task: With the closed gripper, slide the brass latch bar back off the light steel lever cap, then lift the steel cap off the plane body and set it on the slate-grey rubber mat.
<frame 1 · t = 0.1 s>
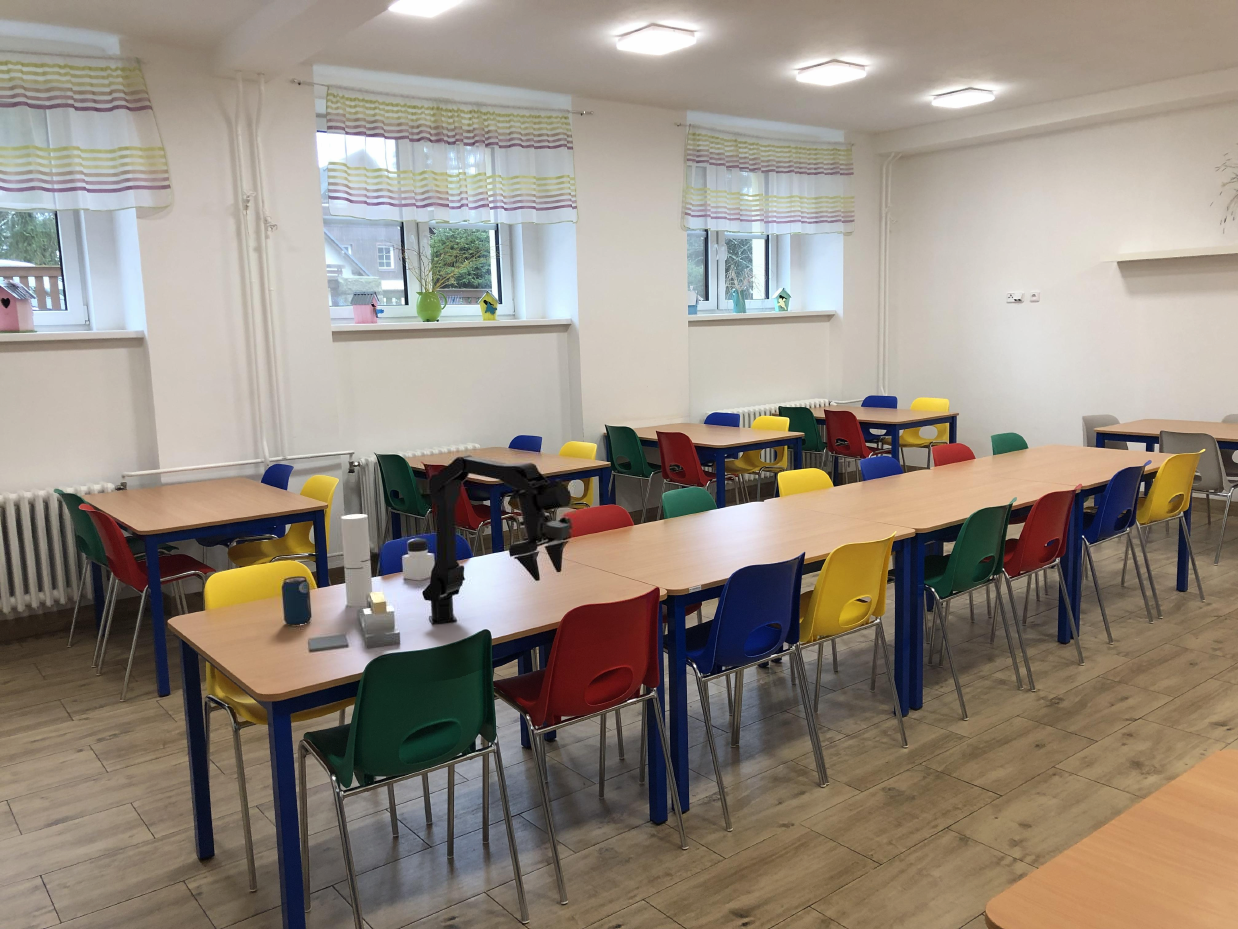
hand: (548, 576, 233), 15 cm above the table, tool pointing down, fingers open, 9 cm apart
soda can: (298, 623, 254), on the table
medicine bottle: (419, 577, 300), on the table
mat: (328, 643, 235), on the table
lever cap: (379, 625, 239), point 3 cm above the table, touching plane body
cylindrical container: (360, 603, 271), on the table
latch: (378, 602, 238), point 9 cm above the table, slide at 0.0 cm
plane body: (378, 631, 244), on the table
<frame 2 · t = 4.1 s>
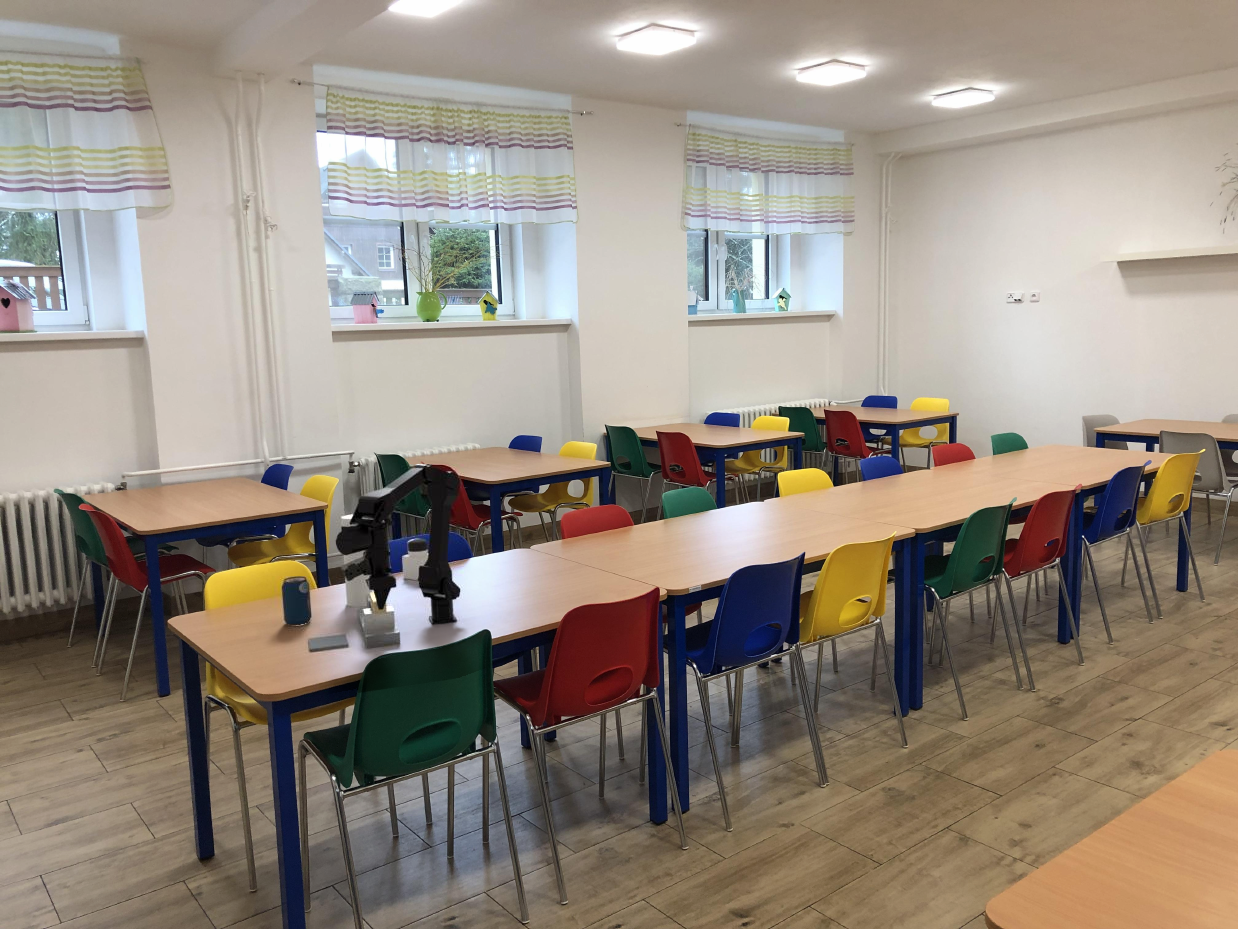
hand: (380, 609, 233), 9 cm above the table, tool pointing down, fingers closed
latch: (378, 602, 238), point 9 cm above the table, slide at 0.1 cm, touching gripper
everything else where it was.
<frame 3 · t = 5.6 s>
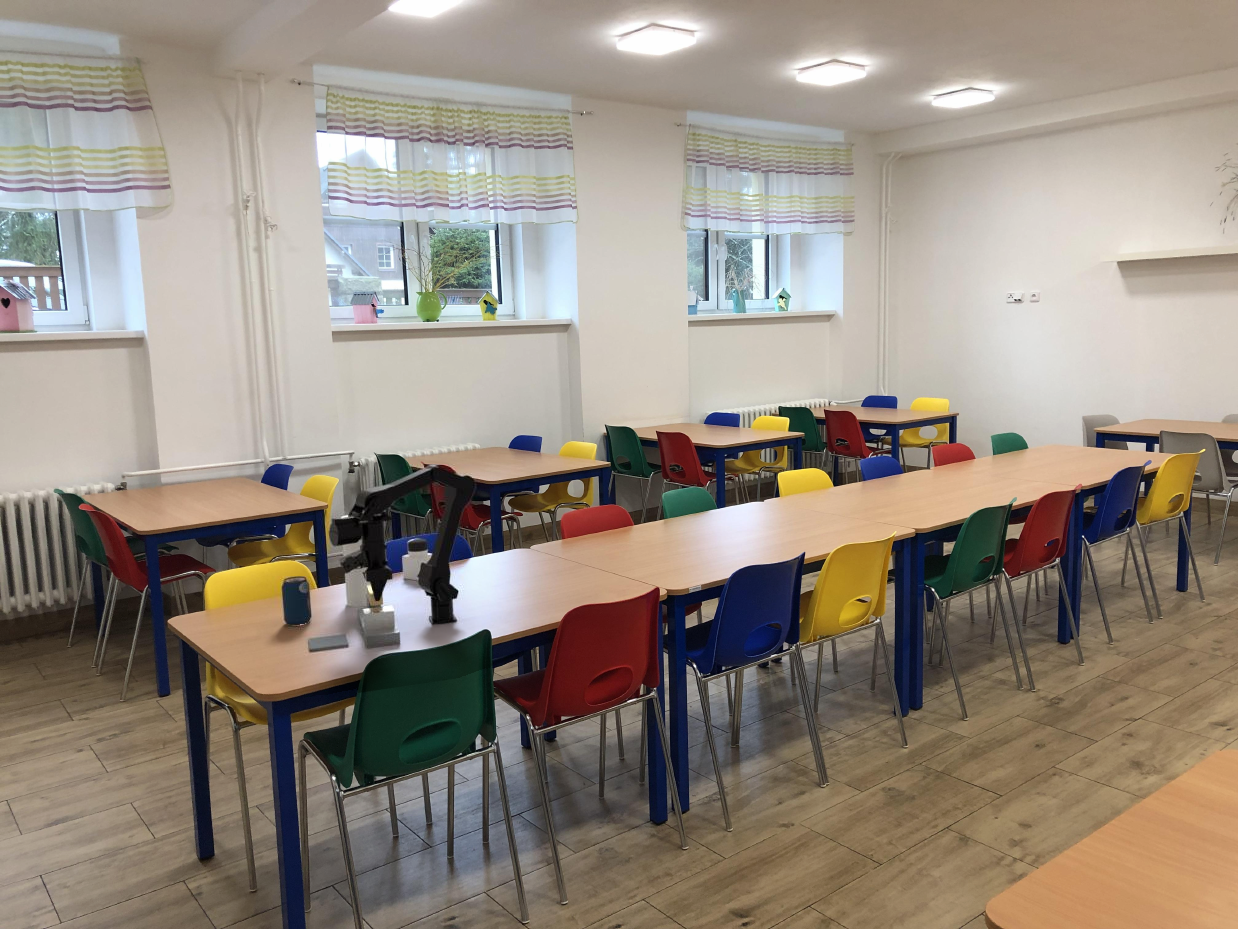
hand: (377, 600, 240), 9 cm above the table, tool pointing down, fingers closed
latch: (374, 594, 246), point 9 cm above the table, slide at 8.4 cm, touching gripper
everything else where it was.
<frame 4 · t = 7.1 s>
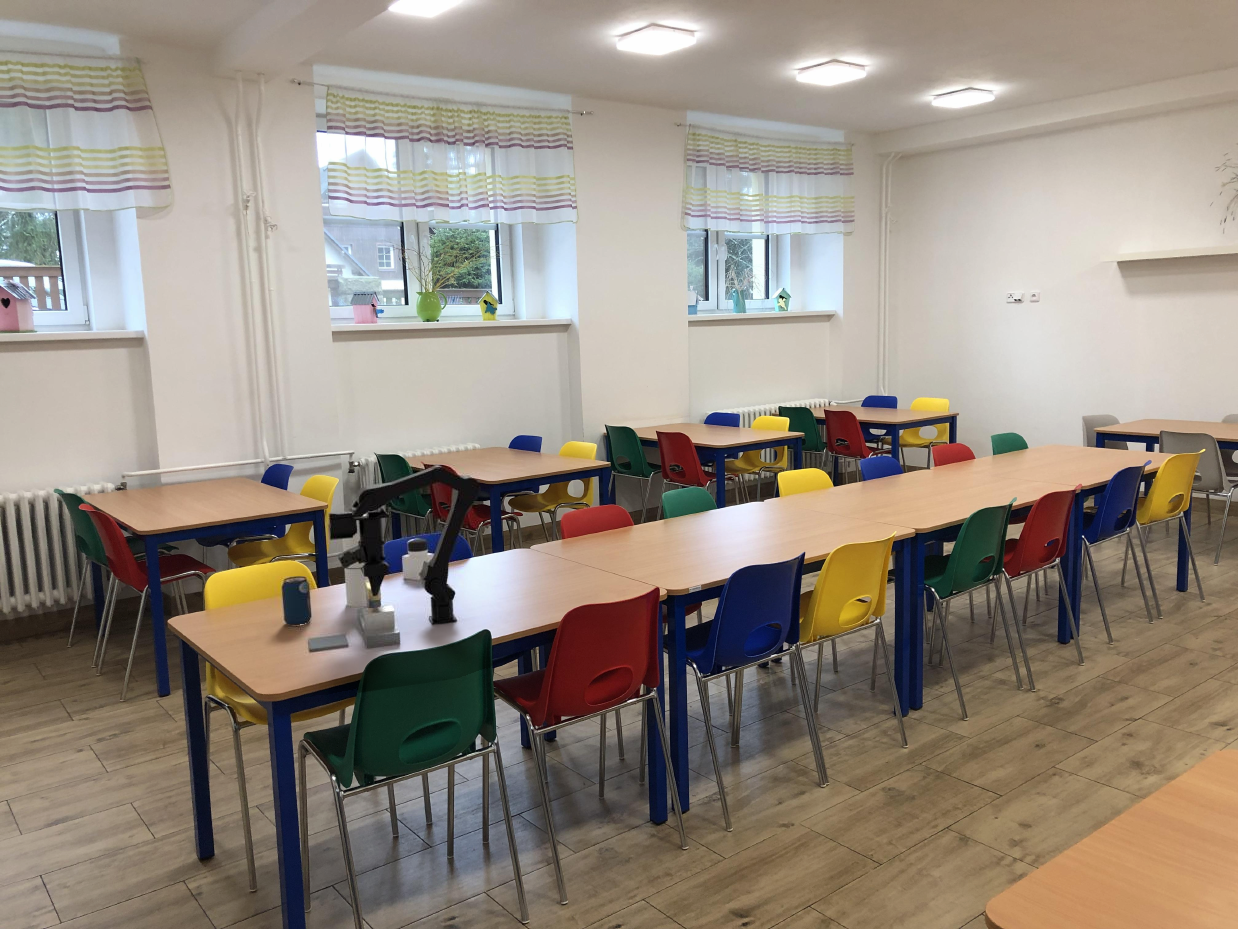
hand: (375, 595, 245), 9 cm above the table, tool pointing down, fingers closed
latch: (372, 590, 251), point 9 cm above the table, slide at 13.5 cm, touching gripper
everything else where it was.
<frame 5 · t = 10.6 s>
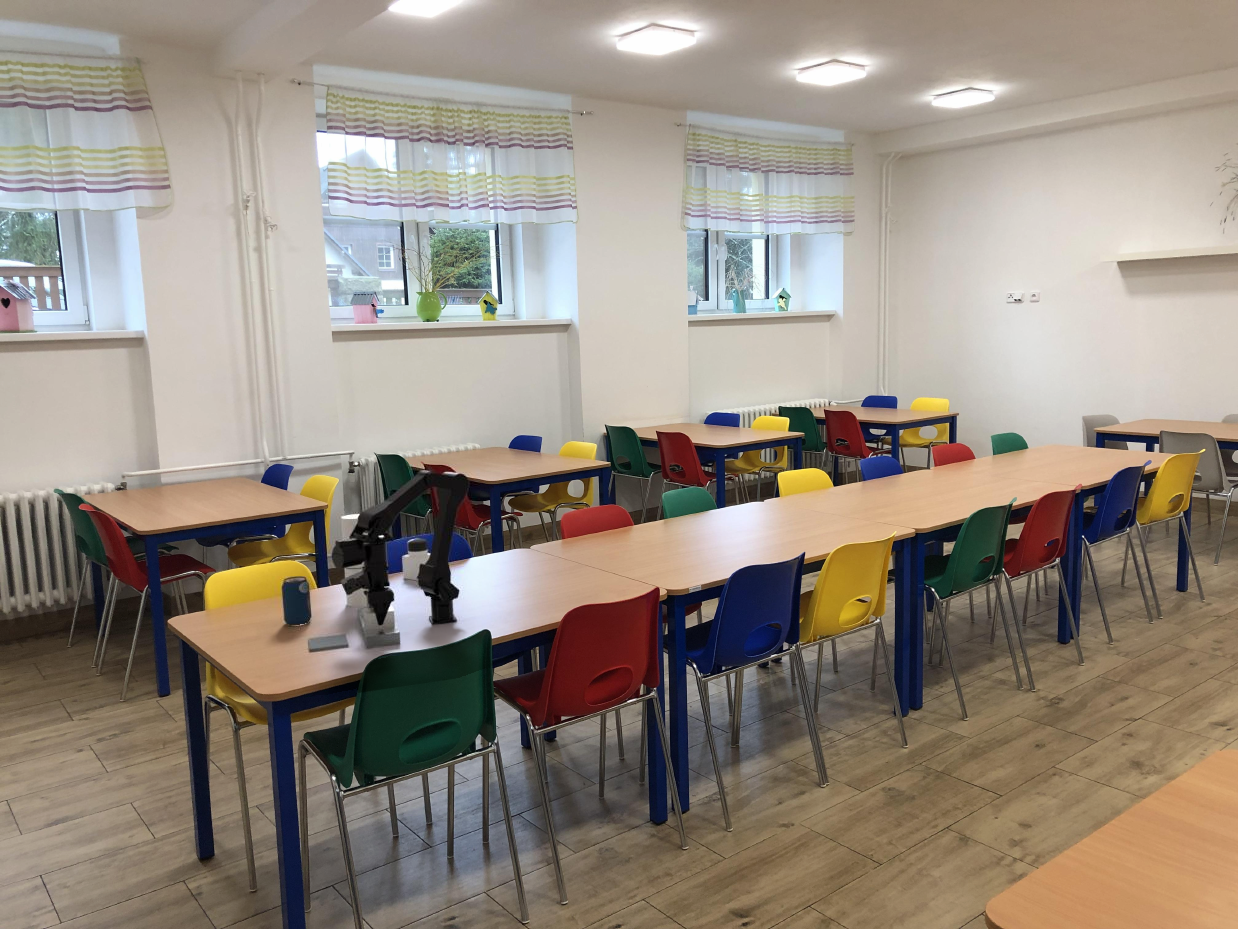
hand: (379, 622, 239), 4 cm above the table, tool pointing down, fingers closed on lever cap, 5 cm apart
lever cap: (379, 625, 239), point 3 cm above the table, touching gripper, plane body
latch: (372, 590, 251), point 9 cm above the table, slide at 13.5 cm
everything else where it was.
when the fingers open (3 cm above the table, at t = 15.2 s): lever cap drops 1 cm, resting on mat.
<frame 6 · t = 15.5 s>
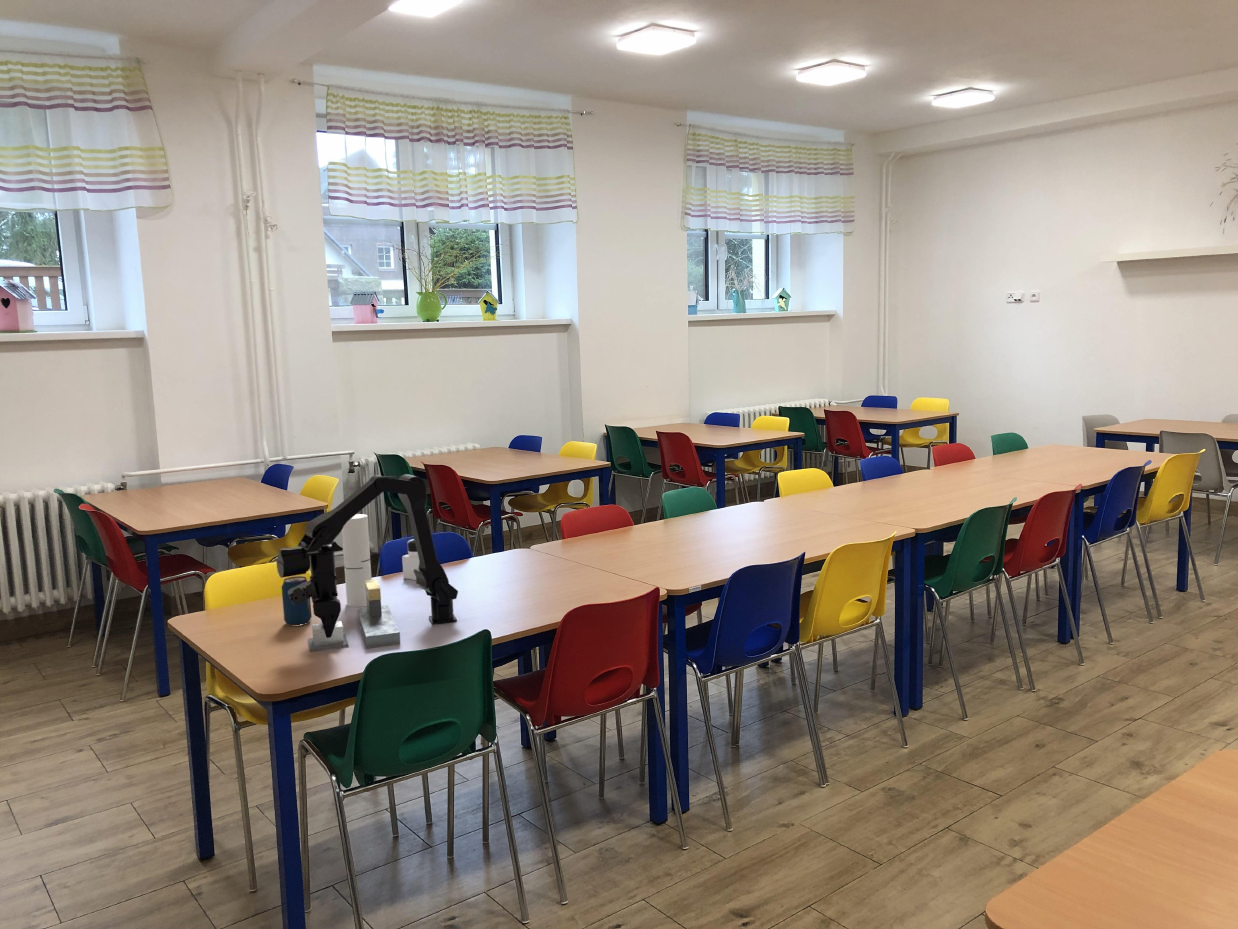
hand: (327, 632, 235), 3 cm above the table, tool pointing down, fingers open, 8 cm apart
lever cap: (328, 641, 235), point 1 cm above the table, touching mat
everything else where it was.
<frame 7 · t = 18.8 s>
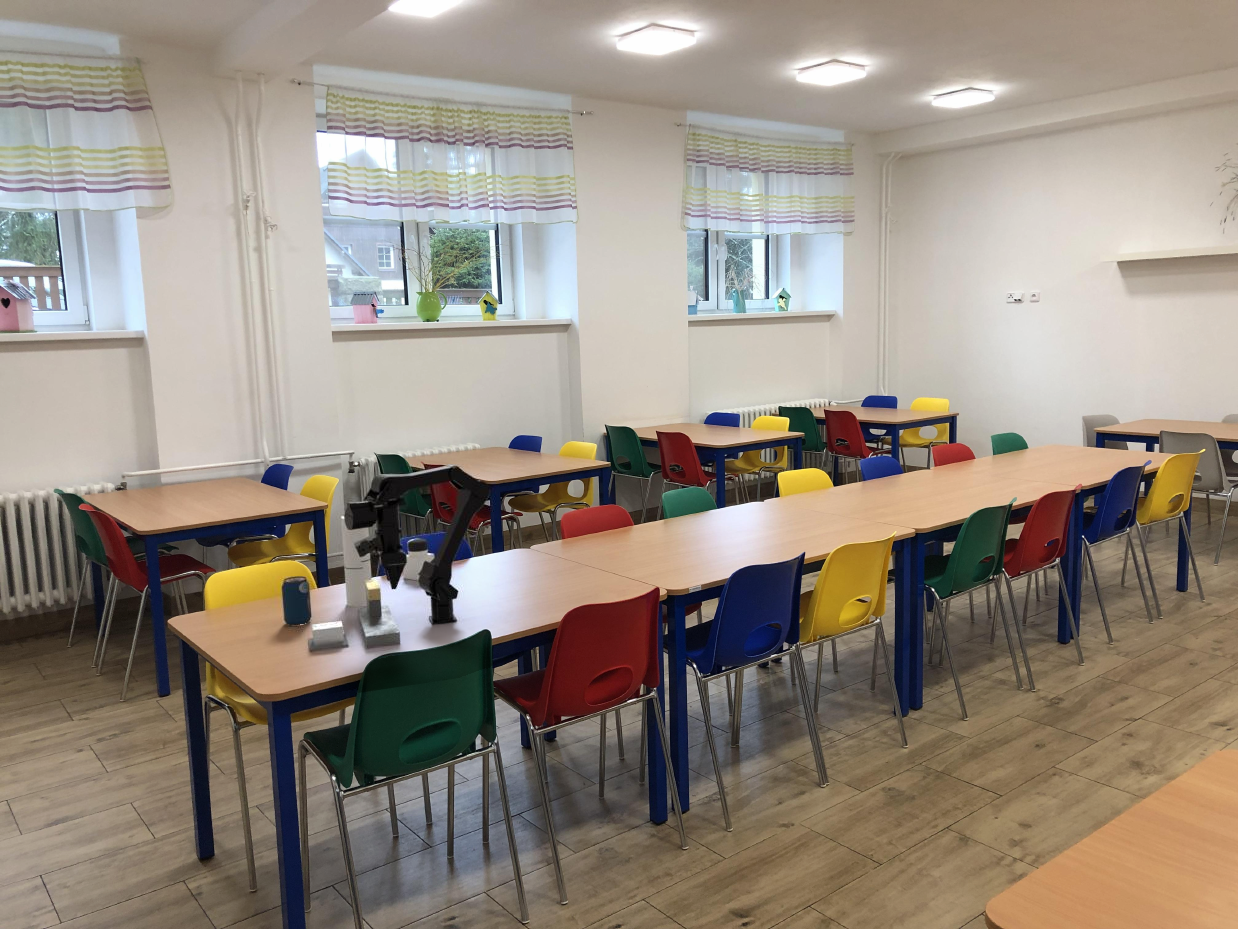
hand: (391, 584, 243), 12 cm above the table, tool pointing down, fingers open, 9 cm apart
nothing on the table moved.
at the end: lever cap 0.0 cm off-centre on the mat, point 0.6 cm above the mat's base; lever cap tilted 0°; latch slide at 13.5 cm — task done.
